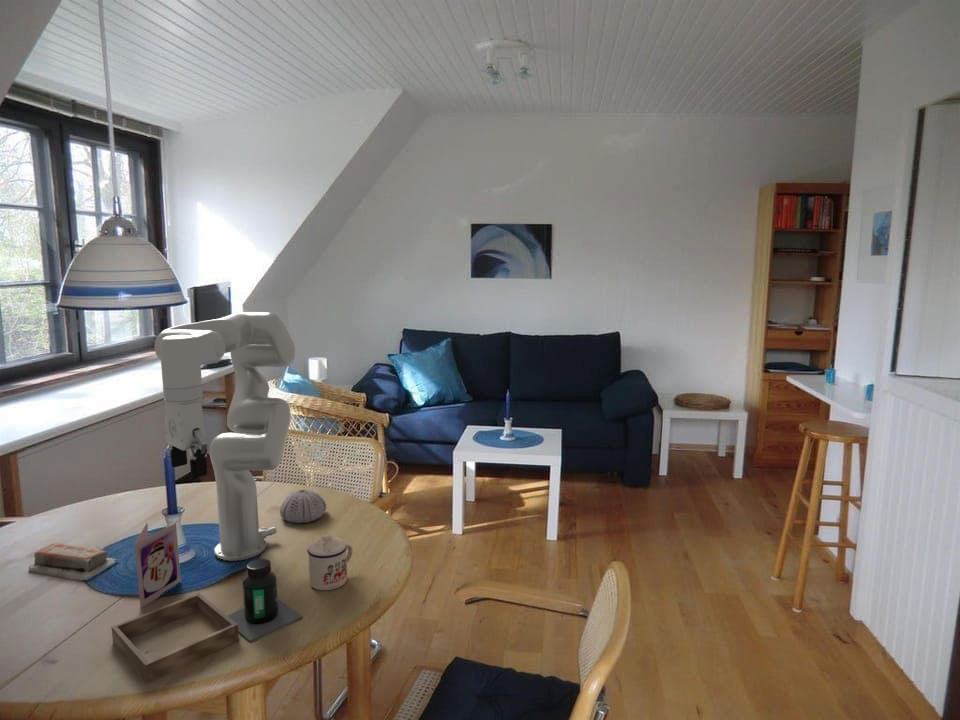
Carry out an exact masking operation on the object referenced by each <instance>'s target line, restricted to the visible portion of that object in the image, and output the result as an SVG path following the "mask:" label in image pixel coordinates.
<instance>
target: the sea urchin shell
mask: <svg viewBox="0 0 960 720" xmlns="http://www.w3.org/2000/svg"><path fill="white" fill-rule="evenodd" d="M326 509H327V503H326V500H325V499H324V498H323V497H322V495H320V494H319V493H317V492H316V491H314V490H313V489H312V490H311V489H307V488H306V489H297V490H295V491H292V492H291V493H289V495H287V496H286V498H285V499H284V501H283V502H282V503H281V505H280V507H279V514H280V516H281V519H283V521H287V522H289V523H293V524H294V523H295V524H302V523H304V524H306V523H310V522H314V521H317V519H320V518H321V517H323V515H324V514H325V513H326V511H327V510H326Z"/></svg>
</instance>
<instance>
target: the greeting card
mask: <svg viewBox="0 0 960 720" xmlns="http://www.w3.org/2000/svg"><path fill="white" fill-rule="evenodd" d="M148 527H149V526H148V522H146V523H145V525H144V527H143V528H142V530H141V532H140V534H138V535H139V536H138V538H137V539H136V540H135V542H134V552H135V553H134V554H135V562H136V563H135V564H136V565H135V566H136V575H137V585H138V594H139V596H138V597H139V605H140V606H139V607H140V608H143V607H145V606H146V605H148V604H149V603H151V602H152V601H155V600H156V599H158V598H159V597H160V595H161V594H162V593H163V592H164V591H166V590H167V589H169V588H171V587H172V586H174V585H175V584H177V583H179V582H180V581H181V582H182V580H181V570H180V569H181V568H180V556H179V545H178V544H179V543H178V531H177V522H175V523H172V524H171V525H169V526H166V527H165V528H162V530H159V531H157V532H155V533H153V534H151V535H149V528H148ZM162 595H163V594H162ZM162 595H161V596H162Z"/></svg>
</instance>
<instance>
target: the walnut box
mask: <svg viewBox="0 0 960 720" xmlns="http://www.w3.org/2000/svg"><path fill="white" fill-rule="evenodd" d="M197 611H198V612H200V613H201V614H202V615H203V616H204V617H205V618H206V619H208V620H209V621H210V622H211V623H212V624H213V625H215V626H216V627H217V628H218V629H219V630H217V631H215V632H211V633H210V634H208V635H206V636H203V637H201V638H199V639H196V640H193V641H192V642H190V643H188V644H184V645H182V646H180V647H179V648H176V649H174V650H171V651H169V652H167V653H165V654H162V655H160V656H158V657H156V658H154V659H153V658H152V659H151V660H148V659H147V658H146V657H145V655H143V654H142V653H141V651H140V650H139V649H138V648H137V647H136V646H135V645H134V644H133V642H131V640H130V639H132V638H133V637H134V638H135V637H136V636H139V635H142V634H144V633H147V632H149V631H151V630H153V629H156V628H158V627H161V626H163V625H166V624H168V623H171V622H173V621H176V620H179V619H181V618H184V617H185V616H188V615H190V614H193V613H196V612H197ZM227 615H228V614H226V613H224V611H222V610H221V609H219V608H218V606H216V605H215V604H213V603H212V602H211V601H210V600H209V599H207V598H206V597H205V596H204V595H203V594H201V593H200V592H198V593H195V594H192V595H190V596H187V597H185V598H181V599H180V600H176V601H174V602H172V603H169V604H167V605H164V606H161V607H158V608H157V609H156V608H155V609H154V610H151V611H148V612H146V613H144V614H141V615H139V616H136V617H133V618H131V619H128V620H125V621H123V622H120V623H118V624H114V625H112V626H111V635H112V636H111V637H112V643H113V644H114V646H115V647H116V648H117V649H118V651H119V652H120V653H121V654H122V655H123V656H124V658H126V660H127V661H128V662H129V663H130V664H131V666H132V667H133V668H134V670H136V671H137V673H138V674H139V675H140V676H141V678H143V680H144V681H145V682H146V683H147V684H149V682H152V681H154V680H156V679H159V678H161V677H162V676H165V675H167V674H169V673H172V672H173V671H176V670H178V669H180V668H183V667H184V666H186V665H188V664H192V663H193V662H195V661H198V660H201V659H202V658H204V657H207V656H209V655H210V654H212V653H215V652H217V651H220V650H222V649H223V648H226V647H228V646H230V645H233V644H235V643H238V642H239V641H240V636H239V635H240V634H239V632H238V624H237V623H235V622H234V621H233V620H232V619H231V618H229V617H228V616H227Z"/></svg>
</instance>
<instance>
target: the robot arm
mask: <svg viewBox="0 0 960 720" xmlns="http://www.w3.org/2000/svg"><path fill="white" fill-rule="evenodd" d="M154 352H155V355H156V357H157V358H158V359H159V361H160V368H161V380H162V391H163V402H164V437H165V438H164V439H165V441H166V443H167V444H169V449H170V450H169V451H170V461H171V467H173V468H177V467H181V466H186V465H188V455H187V454H188V453H189V455H190V458H191V459H189V465H190V477H191V478H192V479H197V478H201V477H204V476H206V475H208V469H207V468H208V466H207V456H208V455H207V453H208V441H207V439H206V426H205V419H204V412H203V406H202V401H203V399H204V394H203V393H204V392H203V380H202V367H201V366H205V365H212V364H215V363H216V364H217V362H219V361H220V360H221V359H222V358H223V357H224V355H225V354H227V353H230V357H231V363H232V367H233V372H234V375H235V378H236V379H235V380H236V384H235V385H236V386H235V390H234V393H233V397H232V400H231V402H230V406H229V409H228V412H227V415H226V416H227V417H226V424H227V427H228V429H229V430H230V432H229V431H228V432H223V433H220V434H218V435H216V436H215V437H214V438H213V439H212V440H211V443H210V446H209V456H210V457H209V458H210V462H211V465H212V468H213V472H214V473H213V474H214V477H215V484H216V485H215V486H216V500H217V501H216V502H217V514H218V530H219V543H218V544H216V546H215V547H214V550H213V551H214V556H215V555H216V556H217V557H218V558H217V557H216V556H215V557H216V558H217V559H219V558H220V559H219V560H221V559H223V560H222V561H226V560H227V561H228V562H229V561H230V562H237V561H238V560H239V561H243V560H244V561H245V560H248V559H251V558H254V557H256V556H258V555H260V554H262V553H263V552H264V551H265V549H266V547H267V543H266V540H265V539H266V538H267V537H269V536H272V535H275V534H277V531H278V530H277V528H276V526H272V527H267V526H265V525H264V526H262V527H259V513H258V494H257V493H258V491H257V483H256V480H255V478H254V476H253V475H252V473H251V471H261V472H262V471H273V470H275V469H277V468H278V467H279V465H281V464H280V463H281V461H282V459H283V453H284V451H285V448H286V447H285V446H286V442H287V437H288V434H289V429H290V425H291V417H292V416H291V408H290V405H289V403H288V402H287V401H286V400H285V399H283V398H280V397H269V392H270V385H269V382H268V381H267V379H266V378H265V377H264V375H263V374H262V373H261V372H260V371H259V370H258V369H257V368H285V367H289V366H290V365H291V364H293V362H294V360H295V358H296V347H295V343H294V340H293V339H292V337H291V335H290V333H289V330H288V329H287V327H286V326H285V323H284V322H283V321H282V319H281V318H280V317H279V316H278V315H277V314H276V313H274V312H272V311H271V312H270V311H267V312H266V311H240V312H234V313H231V314H229V315H226V316H222V317H220V318H216V319H210V320H202V321H198V322H191V323H185V324H184V323H183V324H179V325H175V326H171V327H169V328H165V329H164V330H162V331H161V332H160V333H159V334H158V335H157V337H156V339H155V342H154ZM195 450H196V451H195ZM187 452H188V453H187ZM227 561H226V562H227Z"/></svg>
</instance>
